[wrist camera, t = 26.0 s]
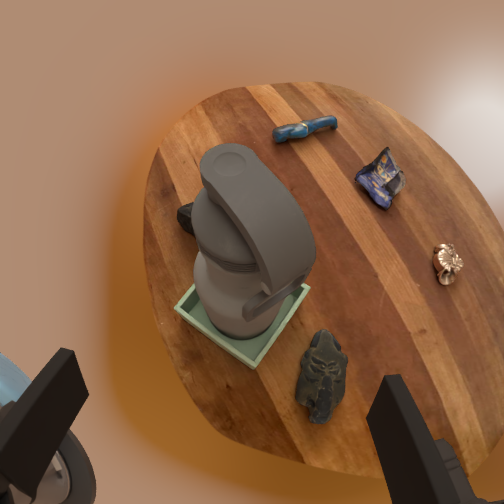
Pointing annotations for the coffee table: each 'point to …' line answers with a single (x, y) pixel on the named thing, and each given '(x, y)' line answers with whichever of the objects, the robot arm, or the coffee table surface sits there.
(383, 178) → the snack package
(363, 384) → the coffee table surface
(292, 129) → the blue long piece
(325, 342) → the stone
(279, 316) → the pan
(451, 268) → the ornament
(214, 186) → the water bottle
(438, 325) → the coffee table surface
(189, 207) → the rock
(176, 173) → the coffee table surface
